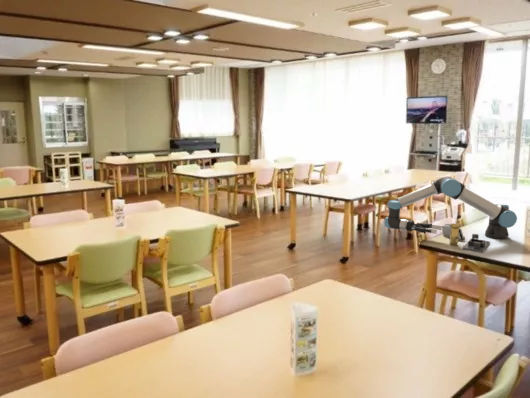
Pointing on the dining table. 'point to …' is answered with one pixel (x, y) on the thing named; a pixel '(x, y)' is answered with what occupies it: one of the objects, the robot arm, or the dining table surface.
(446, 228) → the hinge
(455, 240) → the coupler
